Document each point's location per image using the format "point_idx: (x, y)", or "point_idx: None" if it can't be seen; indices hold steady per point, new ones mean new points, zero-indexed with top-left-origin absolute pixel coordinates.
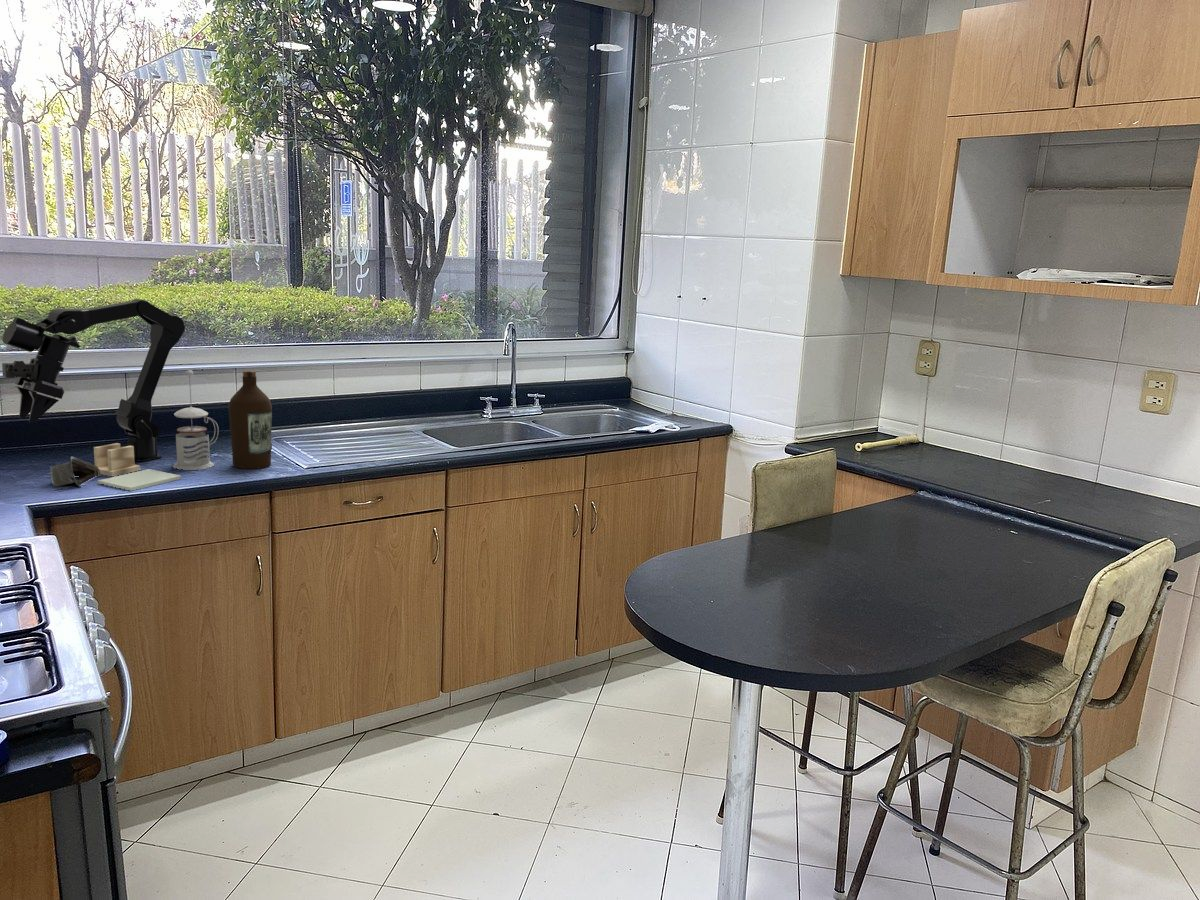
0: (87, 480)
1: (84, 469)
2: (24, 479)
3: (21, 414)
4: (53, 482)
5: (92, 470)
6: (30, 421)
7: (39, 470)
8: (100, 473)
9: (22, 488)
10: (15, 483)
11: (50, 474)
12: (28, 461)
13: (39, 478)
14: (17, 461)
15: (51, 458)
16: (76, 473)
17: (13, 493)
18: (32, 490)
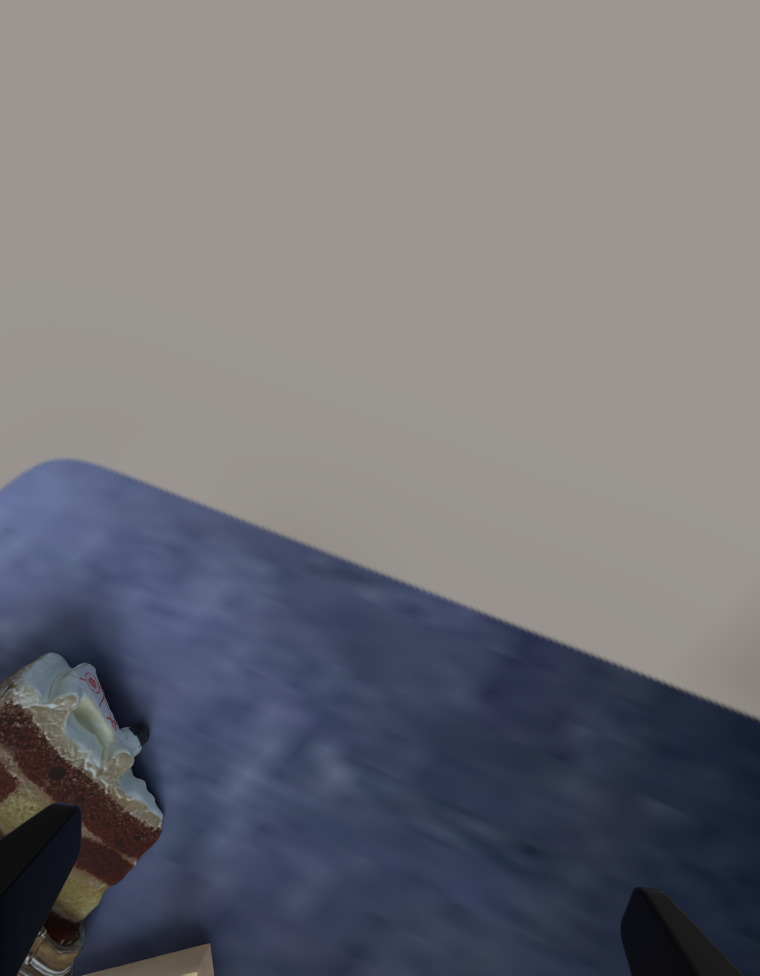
0: None
1: None
2: (282, 604)
3: (661, 948)
4: (42, 655)
5: None
6: (46, 817)
7: (422, 739)
8: (111, 973)
9: (125, 530)
10: (235, 543)
11: (70, 672)
12: (670, 784)
13: (254, 666)
14: (700, 737)
15: None
16: (128, 837)
17: (70, 469)
18: (58, 548)
